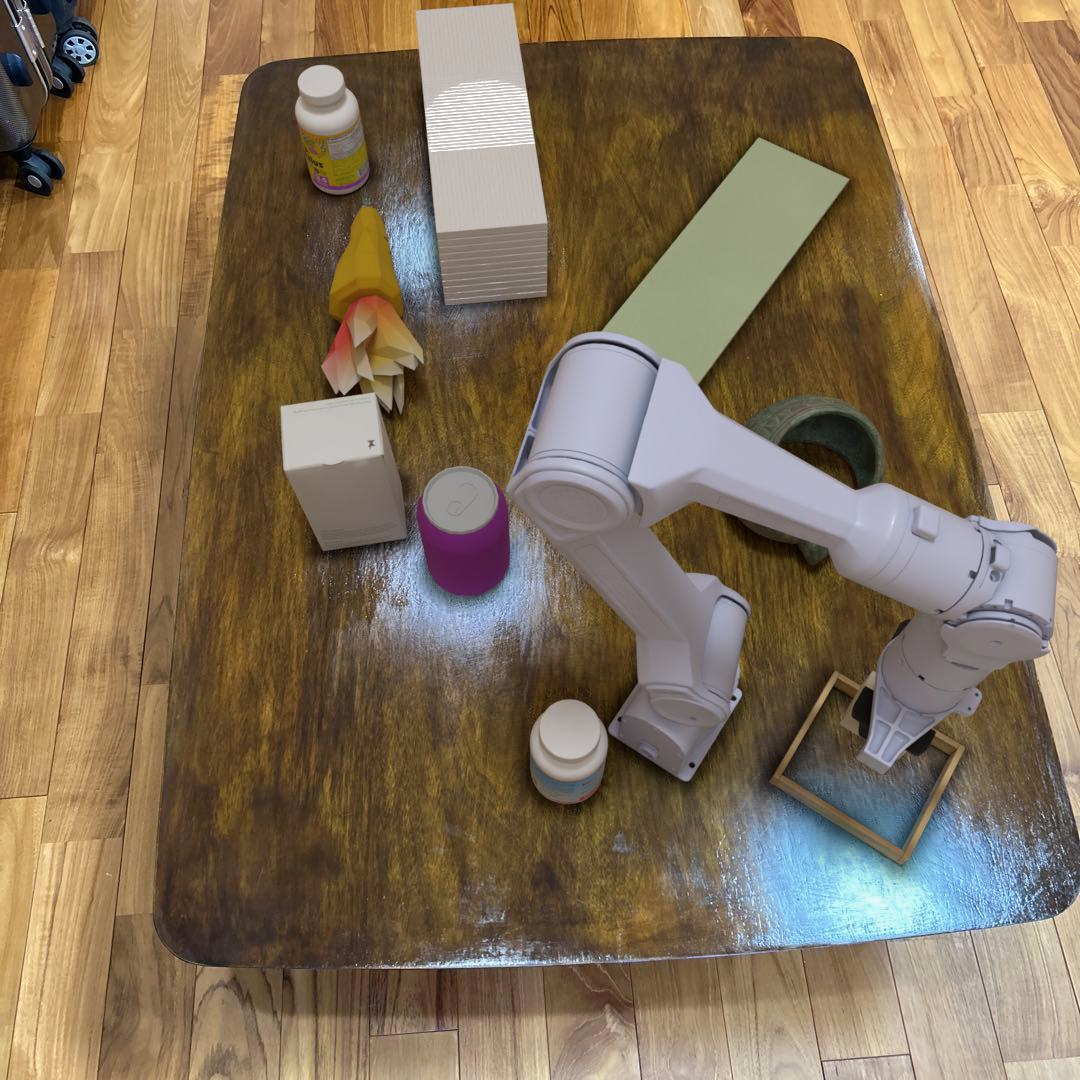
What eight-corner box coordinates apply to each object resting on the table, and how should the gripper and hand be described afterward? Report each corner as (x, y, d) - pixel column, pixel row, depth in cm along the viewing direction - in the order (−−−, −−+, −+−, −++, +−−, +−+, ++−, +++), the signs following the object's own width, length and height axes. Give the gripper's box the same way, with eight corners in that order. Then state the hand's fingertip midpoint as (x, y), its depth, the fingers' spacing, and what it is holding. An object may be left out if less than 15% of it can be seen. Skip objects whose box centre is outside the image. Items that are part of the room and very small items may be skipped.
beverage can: (481, 615, 96) (474, 556, 86) (410, 575, 98) (394, 512, 87) (526, 549, 99) (525, 484, 88) (457, 511, 101) (447, 443, 90)
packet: (897, 760, 82) (910, 749, 79) (838, 724, 83) (848, 712, 80) (920, 718, 83) (933, 705, 81) (862, 683, 85) (872, 670, 82)
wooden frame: (900, 865, 86) (908, 860, 85) (768, 782, 89) (773, 776, 88) (957, 753, 90) (965, 747, 89) (829, 678, 94) (835, 670, 92)
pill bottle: (596, 812, 88) (603, 776, 78) (523, 797, 89) (521, 760, 79) (609, 741, 91) (617, 698, 81) (538, 727, 92) (538, 683, 81)
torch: (385, 261, 120) (395, 432, 105) (315, 240, 116) (316, 414, 102) (412, 204, 114) (427, 377, 100) (340, 180, 110) (345, 356, 96)
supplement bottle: (303, 165, 121) (278, 68, 110) (358, 147, 122) (339, 49, 111) (323, 205, 118) (300, 110, 107) (379, 186, 120) (362, 91, 108)
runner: (641, 462, 103) (642, 459, 103) (542, 406, 106) (542, 403, 106) (848, 182, 120) (849, 178, 120) (757, 140, 123) (758, 137, 123)
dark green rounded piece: (781, 598, 97) (806, 548, 88) (687, 474, 103) (701, 416, 94) (911, 523, 100) (947, 467, 92) (813, 407, 106) (838, 345, 97)
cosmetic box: (402, 482, 102) (380, 387, 89) (409, 544, 99) (388, 455, 86) (313, 494, 102) (278, 401, 88) (318, 556, 99) (282, 469, 85)
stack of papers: (546, 296, 113) (547, 222, 103) (445, 305, 112) (436, 232, 102) (514, 84, 127) (512, 2, 117) (424, 92, 127) (415, 10, 117)
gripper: (956, 776, 66) (891, 824, 78) (1047, 597, 71) (973, 668, 83) (852, 713, 68) (804, 770, 80) (949, 543, 73) (890, 620, 85)
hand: (885, 714), depth 82 cm, fingers closed on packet, 4 cm apart
